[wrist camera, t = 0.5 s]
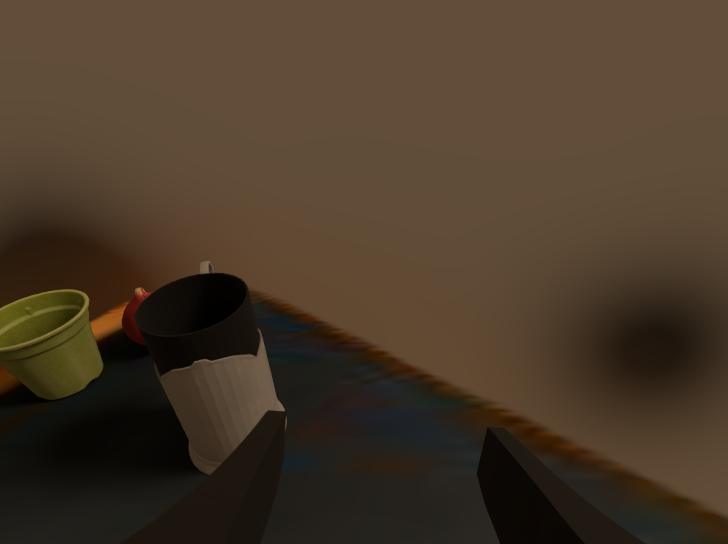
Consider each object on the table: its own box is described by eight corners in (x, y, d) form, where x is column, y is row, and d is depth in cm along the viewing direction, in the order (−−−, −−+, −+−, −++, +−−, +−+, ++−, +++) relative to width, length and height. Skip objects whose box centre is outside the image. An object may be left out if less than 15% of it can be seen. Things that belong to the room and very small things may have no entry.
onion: (198, 333, 45) (179, 280, 41) (161, 366, 40) (135, 310, 36) (164, 323, 47) (142, 271, 42) (124, 352, 42) (96, 298, 38)
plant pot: (25, 368, 41) (-21, 307, 36) (120, 337, 45) (89, 279, 40) (7, 431, 34) (-52, 366, 29) (121, 388, 38) (85, 325, 33)
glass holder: (184, 492, 29) (108, 358, 21) (196, 366, 40) (149, 249, 32) (293, 457, 31) (262, 324, 23) (274, 347, 42) (249, 233, 34)
